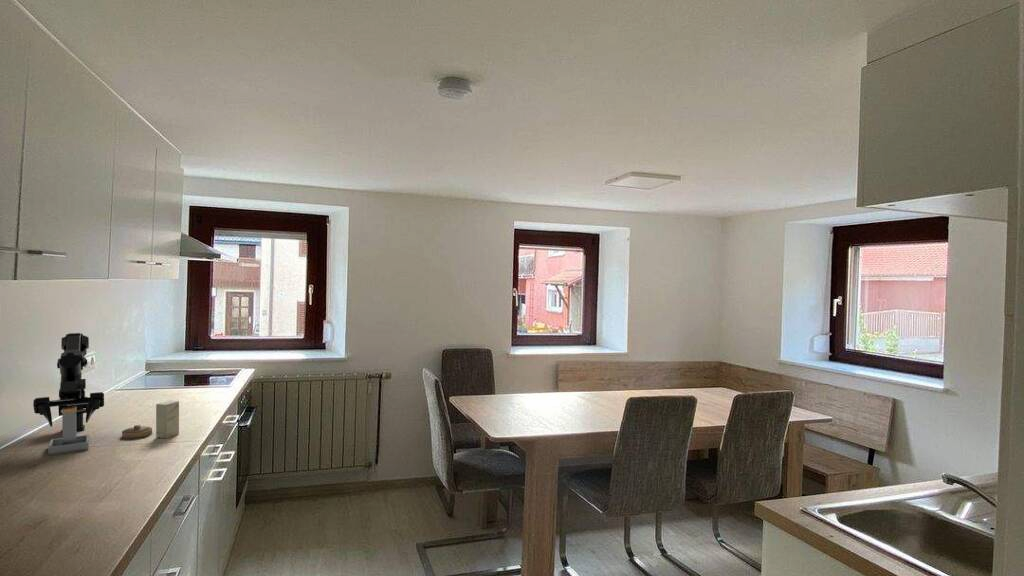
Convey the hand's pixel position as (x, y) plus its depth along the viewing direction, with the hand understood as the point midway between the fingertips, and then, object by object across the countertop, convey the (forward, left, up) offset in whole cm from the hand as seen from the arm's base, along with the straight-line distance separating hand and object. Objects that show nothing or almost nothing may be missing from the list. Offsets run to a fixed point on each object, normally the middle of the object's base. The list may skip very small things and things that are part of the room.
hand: (69, 424), depth 184 cm
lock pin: (-1, 0, -8) cm, 8 cm away
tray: (-1, 0, -9) cm, 9 cm away
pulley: (-7, +19, -9) cm, 22 cm away
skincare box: (-1, +28, -9) cm, 29 cm away
